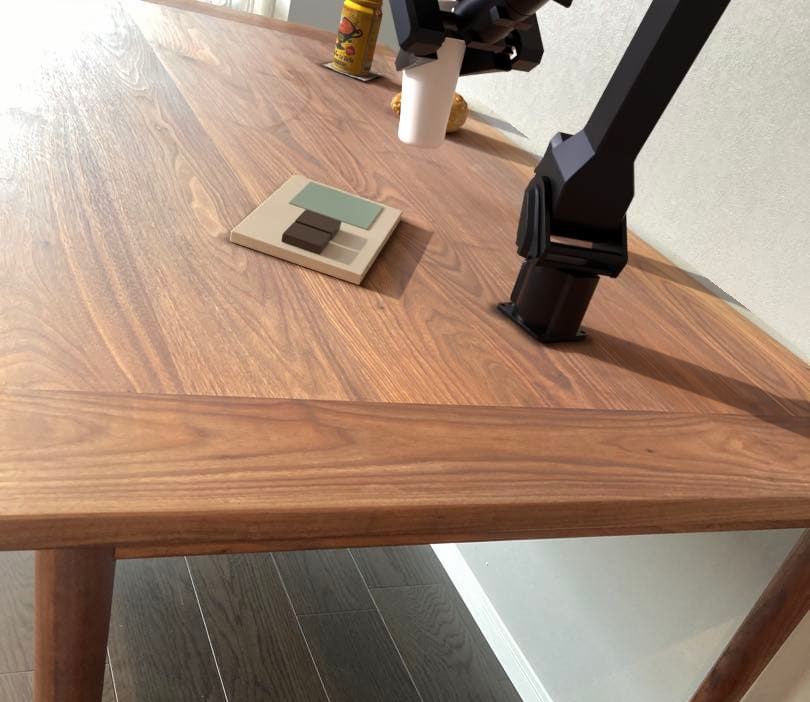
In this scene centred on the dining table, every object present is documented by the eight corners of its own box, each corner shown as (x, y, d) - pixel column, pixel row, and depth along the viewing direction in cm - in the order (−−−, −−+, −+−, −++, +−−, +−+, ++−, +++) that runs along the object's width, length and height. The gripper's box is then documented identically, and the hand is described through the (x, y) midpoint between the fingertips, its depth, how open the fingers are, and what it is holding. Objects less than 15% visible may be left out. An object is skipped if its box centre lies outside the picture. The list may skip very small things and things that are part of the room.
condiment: (321, 65, 141) (338, -22, 134) (342, 60, 148) (360, -23, 141) (363, 82, 140) (383, -5, 133) (383, 76, 147) (403, -7, 140)
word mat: (358, 285, 81) (363, 266, 80) (229, 241, 81) (232, 221, 80) (400, 220, 97) (405, 203, 96) (292, 183, 97) (296, 166, 96)
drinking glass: (440, 156, 102) (465, 4, 93) (383, 142, 103) (402, -10, 94) (455, 143, 108) (481, -2, 98) (401, 130, 109) (421, -16, 99)
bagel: (401, 104, 136) (410, 70, 133) (469, 131, 135) (480, 97, 132) (378, 114, 128) (387, 78, 125) (450, 142, 127) (461, 106, 124)
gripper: (564, -76, 95) (467, 11, 107) (426, -119, 84) (335, -16, 96) (587, 31, 95) (488, 105, 108) (452, 2, 84) (359, 89, 96)
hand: (421, 70), depth 102 cm, fingers closed on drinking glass, 6 cm apart
